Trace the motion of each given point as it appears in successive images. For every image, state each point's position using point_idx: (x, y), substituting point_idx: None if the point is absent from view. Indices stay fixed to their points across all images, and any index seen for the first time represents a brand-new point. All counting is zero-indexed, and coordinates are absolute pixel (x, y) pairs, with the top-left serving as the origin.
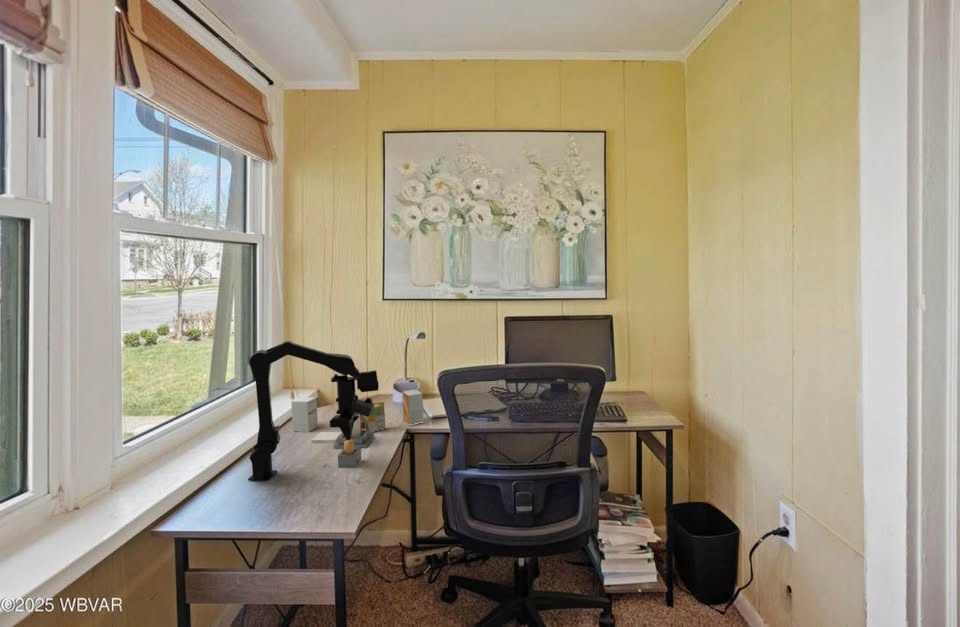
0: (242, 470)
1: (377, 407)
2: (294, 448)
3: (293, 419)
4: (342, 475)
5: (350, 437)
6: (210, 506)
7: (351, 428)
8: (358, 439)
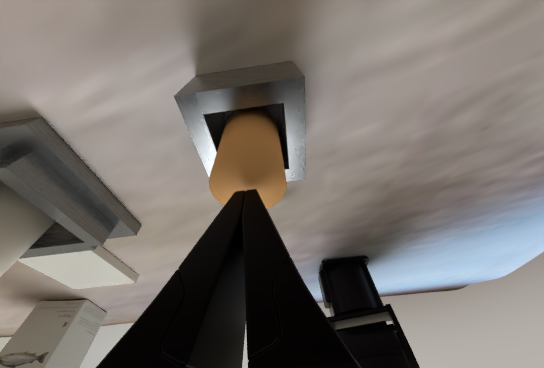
0: None
1: None
2: None
3: (88, 346)
4: (387, 93)
5: (250, 200)
6: (451, 271)
7: (255, 293)
8: (32, 180)
